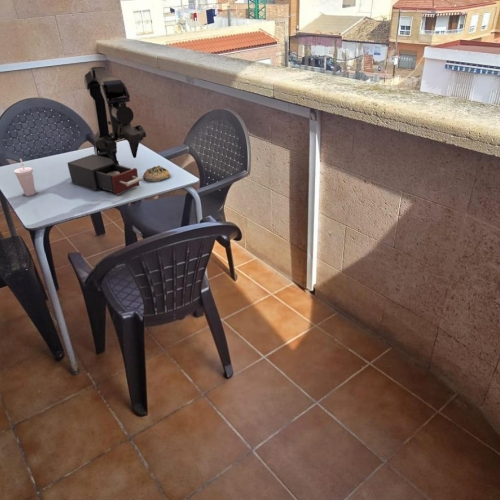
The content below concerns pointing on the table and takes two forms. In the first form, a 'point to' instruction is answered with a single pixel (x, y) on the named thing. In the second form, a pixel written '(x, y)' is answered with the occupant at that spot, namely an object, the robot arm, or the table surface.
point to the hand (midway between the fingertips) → (125, 161)
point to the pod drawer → (117, 178)
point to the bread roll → (156, 174)
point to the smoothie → (26, 179)
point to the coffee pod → (113, 173)
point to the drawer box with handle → (88, 170)
